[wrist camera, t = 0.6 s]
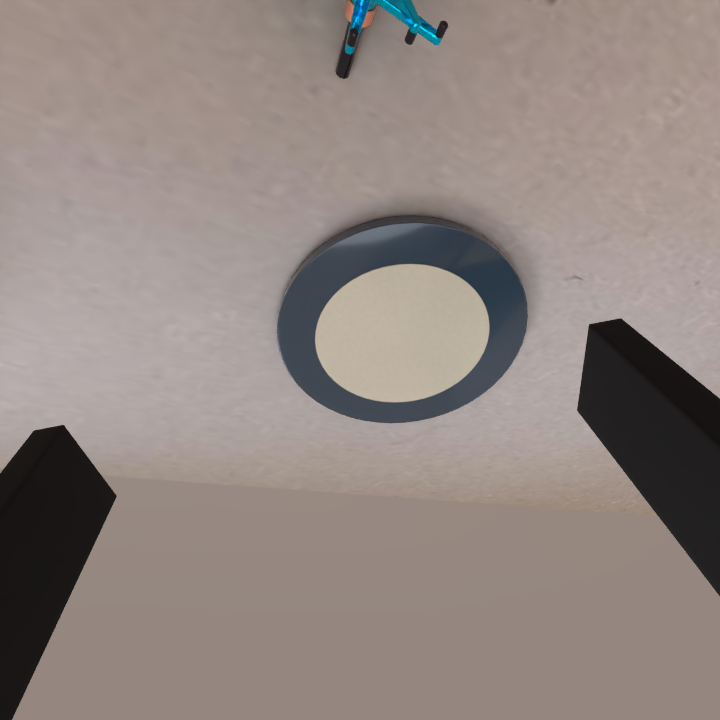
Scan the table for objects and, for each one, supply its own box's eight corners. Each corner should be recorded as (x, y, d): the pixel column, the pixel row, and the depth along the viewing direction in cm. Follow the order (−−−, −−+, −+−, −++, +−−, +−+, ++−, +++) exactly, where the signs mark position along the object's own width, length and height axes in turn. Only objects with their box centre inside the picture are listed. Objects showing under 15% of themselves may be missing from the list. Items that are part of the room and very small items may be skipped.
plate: (479, 160, 28) (484, 166, 27) (546, 366, 39) (552, 376, 38) (226, 291, 33) (223, 300, 32) (351, 438, 45) (351, 448, 44)
